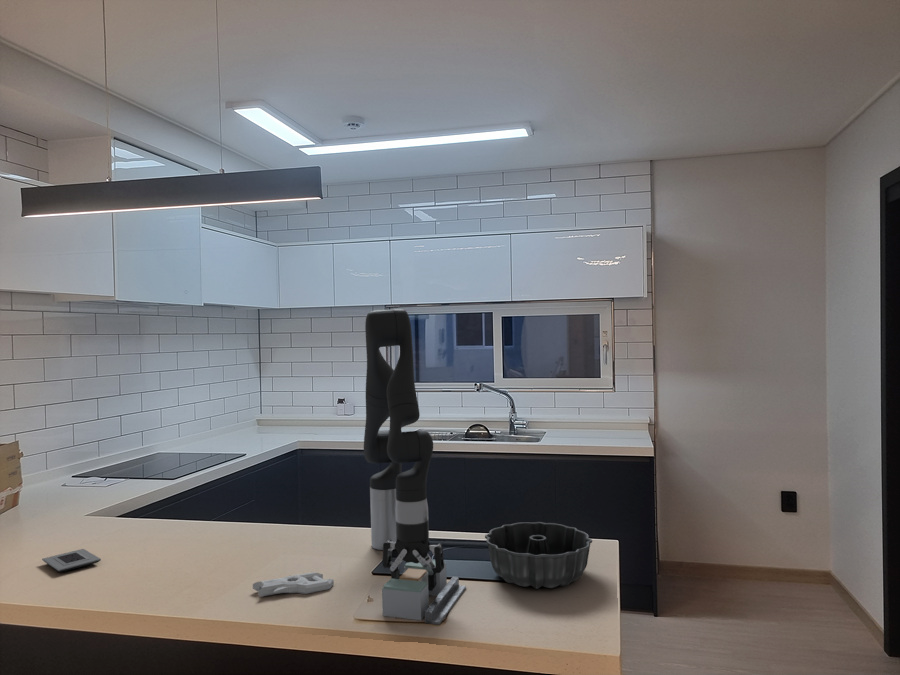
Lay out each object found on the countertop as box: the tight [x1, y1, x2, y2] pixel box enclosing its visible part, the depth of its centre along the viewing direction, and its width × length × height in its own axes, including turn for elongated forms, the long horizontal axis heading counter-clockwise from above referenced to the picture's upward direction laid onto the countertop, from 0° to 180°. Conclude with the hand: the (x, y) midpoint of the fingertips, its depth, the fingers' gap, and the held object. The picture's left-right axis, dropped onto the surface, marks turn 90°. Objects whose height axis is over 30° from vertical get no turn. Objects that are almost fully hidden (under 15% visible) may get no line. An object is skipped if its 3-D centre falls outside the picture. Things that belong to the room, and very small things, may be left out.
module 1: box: [400, 568, 430, 596], centre depth 155 cm, size 6×5×6 cm
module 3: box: [403, 559, 448, 597], centre depth 161 cm, size 5×9×6 cm, turn 72°
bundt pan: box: [484, 521, 593, 590], centre depth 168 cm, size 26×26×10 cm
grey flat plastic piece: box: [252, 571, 335, 598], centre depth 164 cm, size 18×4×10 cm
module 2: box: [381, 577, 430, 621], centre depth 149 cm, size 5×9×6 cm, turn 72°
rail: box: [424, 576, 467, 625], centre depth 153 cm, size 20×3×2 cm, turn 162°
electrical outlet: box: [41, 548, 102, 573], centre depth 185 cm, size 13×10×2 cm
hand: (413, 587), depth 155 cm, fingers open, 8 cm apart
